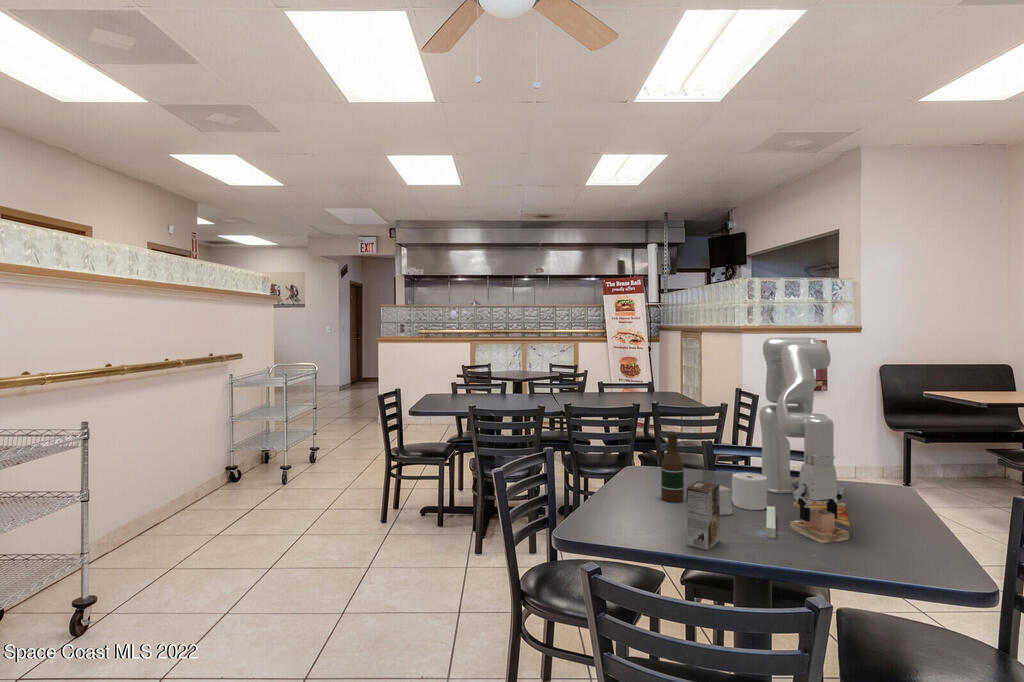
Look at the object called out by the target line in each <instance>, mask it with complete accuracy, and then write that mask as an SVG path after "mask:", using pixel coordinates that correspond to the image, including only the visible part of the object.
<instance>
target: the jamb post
mask: <svg viewBox="0 0 1024 682" xmlns="http://www.w3.org/2000/svg"><path fill="white" fill-rule="evenodd" d="M732 504H733V502H732V488H729V487H726V486H724V485H719V507H720V508H719V510H720V516H727V515H728V516H729V515H732V513H733V511H732Z"/></svg>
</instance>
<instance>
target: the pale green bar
mask: <svg viewBox="0 0 1024 682" xmlns="http://www.w3.org/2000/svg"><path fill="white" fill-rule="evenodd" d="M765 524H766V525H765V526H766V528H765V529H766V531H765V537H766V538H769V539H776V538H777V537H776V535H777V533H776V506H773V505H772V506H770V505H767V508H766V523H765Z"/></svg>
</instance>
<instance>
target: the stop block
mask: <svg viewBox="0 0 1024 682" xmlns="http://www.w3.org/2000/svg"><path fill="white" fill-rule="evenodd" d="M808 508H810V522H807V521H805V520H803V525H804V526H806V527H808V528H811V529H813V530H815V531H818V532H820V533H831V534H832V535H835V526H836V524H835V523H836V522H835V514H833V513H831V512H829V511H826V510H822V509H820V508H817V507H808Z"/></svg>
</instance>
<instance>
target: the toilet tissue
mask: <svg viewBox="0 0 1024 682" xmlns="http://www.w3.org/2000/svg"><path fill="white" fill-rule="evenodd" d="M731 474H732V475H731V490H732V504H733V505H734V506H735V507H737V508H739V509H745V510H749V511H751V510H752V511H761V510H762V511H763V510H765V509H766V510H767V506H768V492H767V477H766V476H763V475H762V474H759V473H754V472H736V473H735V472H734V470H732V473H731Z"/></svg>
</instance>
